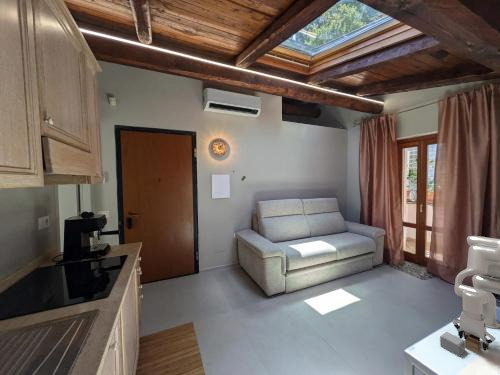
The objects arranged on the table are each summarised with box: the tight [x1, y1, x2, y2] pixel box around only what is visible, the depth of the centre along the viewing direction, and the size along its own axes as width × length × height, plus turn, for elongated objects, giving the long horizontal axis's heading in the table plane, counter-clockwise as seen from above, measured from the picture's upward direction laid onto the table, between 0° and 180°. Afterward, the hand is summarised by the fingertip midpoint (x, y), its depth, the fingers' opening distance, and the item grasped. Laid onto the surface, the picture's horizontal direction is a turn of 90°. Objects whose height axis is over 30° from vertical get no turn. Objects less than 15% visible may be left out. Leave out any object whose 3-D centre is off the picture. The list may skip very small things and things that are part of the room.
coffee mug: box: [454, 318, 481, 342], centre depth 125 cm, size 12×9×10 cm
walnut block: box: [464, 336, 482, 355], centre depth 118 cm, size 5×5×5 cm
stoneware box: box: [439, 331, 466, 357], centre depth 119 cm, size 8×8×6 cm
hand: (472, 343), depth 117 cm, fingers open, 9 cm apart
